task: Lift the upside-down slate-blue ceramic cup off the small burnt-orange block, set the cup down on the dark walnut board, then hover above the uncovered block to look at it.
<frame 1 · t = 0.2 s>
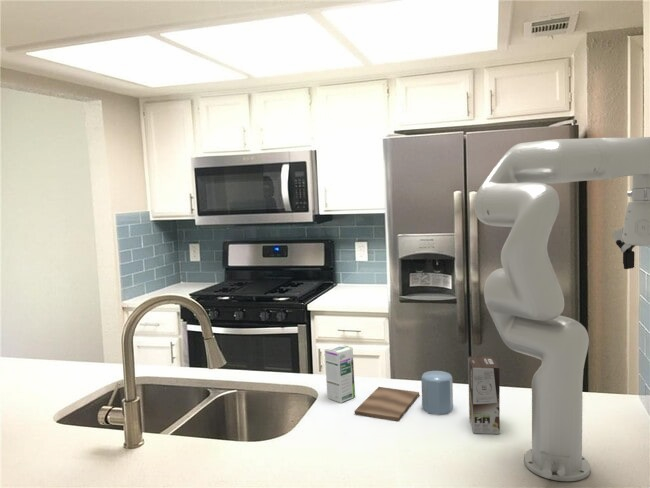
hand: (649, 270, 125), 37 cm above the worktop, tool pointing down, fingers open, 9 cm apart
syrup box: (340, 398, 154), on the worktop
cup: (437, 408, 144), on the worktop
block: (437, 409, 144), on the worktop
coffee box: (484, 426, 133), on the worktop
board: (388, 404, 148), on the worktop
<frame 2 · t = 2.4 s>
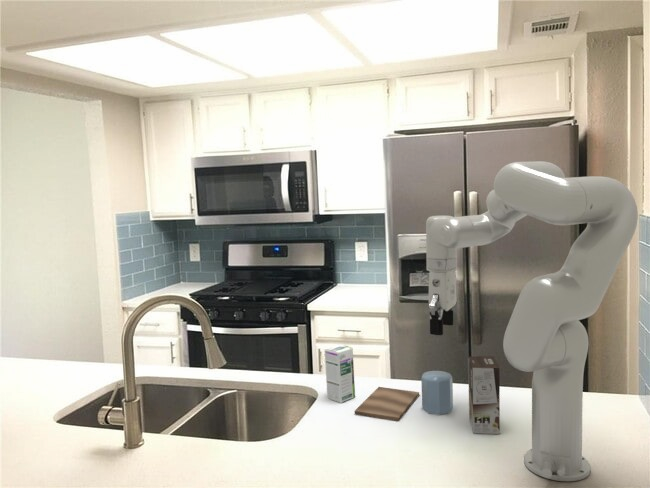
hand: (441, 329, 142), 21 cm above the worktop, tool pointing down, fingers open, 9 cm apart
nothing on the worktop moved.
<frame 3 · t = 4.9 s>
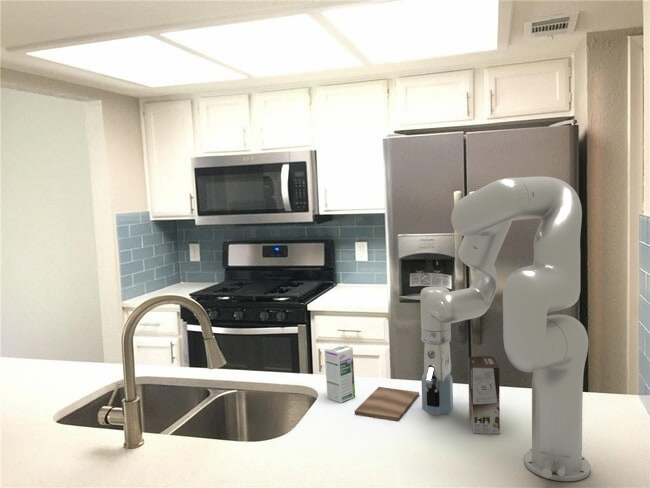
hand: (437, 399, 144), 2 cm above the worktop, tool pointing down, fingers closed on cup, 7 cm apart
cup: (437, 408, 144), on the worktop, touching gripper
everything else where it was.
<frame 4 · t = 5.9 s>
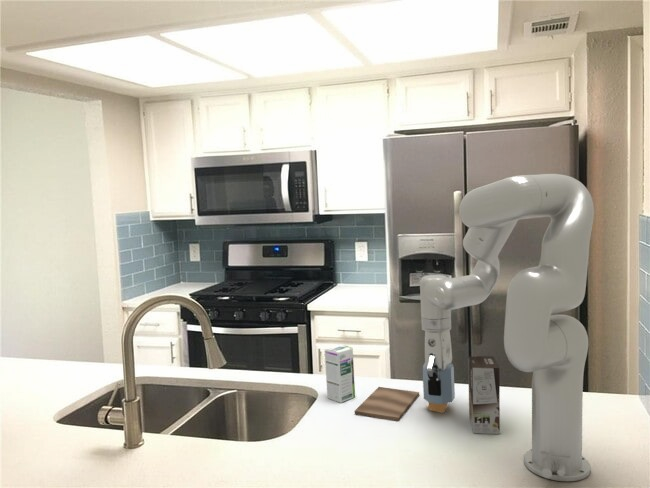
hand: (438, 389, 143), 5 cm above the worktop, tool pointing down, fingers closed on cup, 7 cm apart
cup: (439, 398, 143), point 3 cm above the worktop, touching gripper
block: (438, 407, 144), on the worktop, tilted 6°
everything else where it was.
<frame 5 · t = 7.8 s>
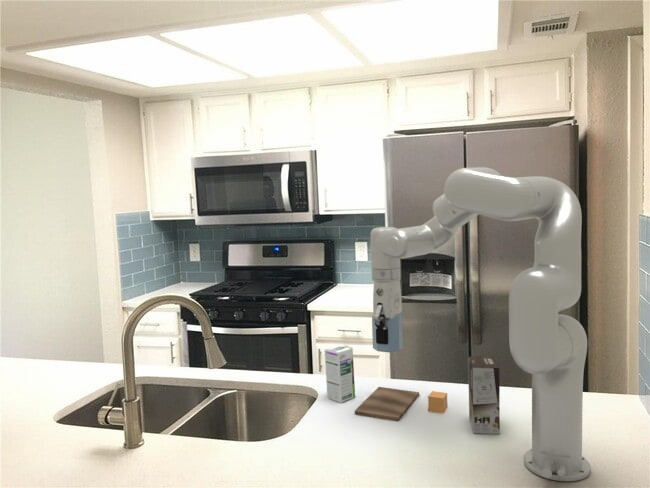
hand: (387, 339, 146), 18 cm above the worktop, tool pointing down, fingers closed on cup, 7 cm apart
cup: (387, 347, 146), point 16 cm above the worktop, touching gripper
block: (438, 409, 144), on the worktop
everything else where it was.
when the fingers open (5 cm above the worktop, at t = 10.9 s): cup drops 1 cm, resting on board.
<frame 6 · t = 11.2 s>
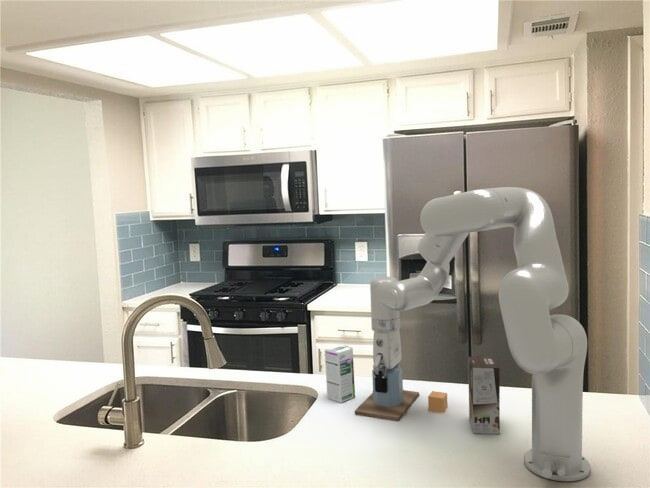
hand: (387, 385, 147), 5 cm above the worktop, tool pointing down, fingers open, 9 cm apart
cup: (388, 401, 148), point 1 cm above the worktop, touching board
everything else where it was.
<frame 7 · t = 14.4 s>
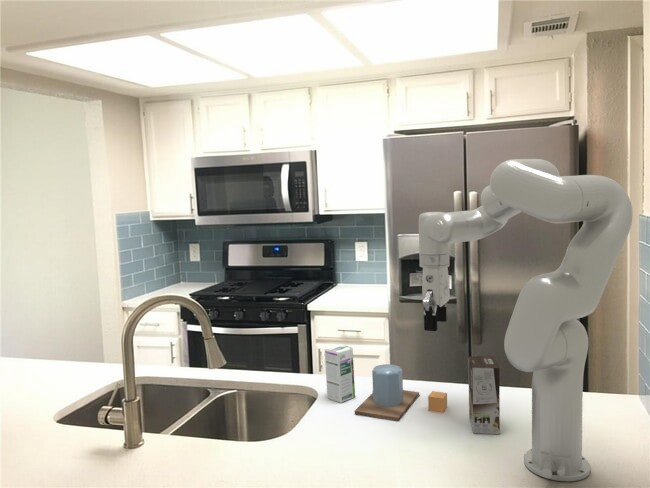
hand: (435, 325, 142), 22 cm above the worktop, tool pointing down, fingers open, 9 cm apart
nothing on the worktop moved.
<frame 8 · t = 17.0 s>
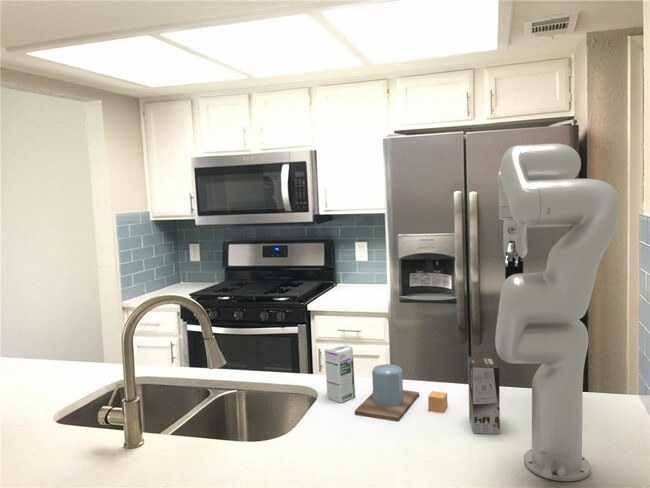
hand: (514, 278, 143), 33 cm above the worktop, tool pointing down, fingers open, 9 cm apart
nothing on the worktop moved.
at the end: cup inside the target area on the board (0.1 cm from its centre), point 1.0 cm above the board's base; cup tilted 0°; the gripper is holding nothing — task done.
